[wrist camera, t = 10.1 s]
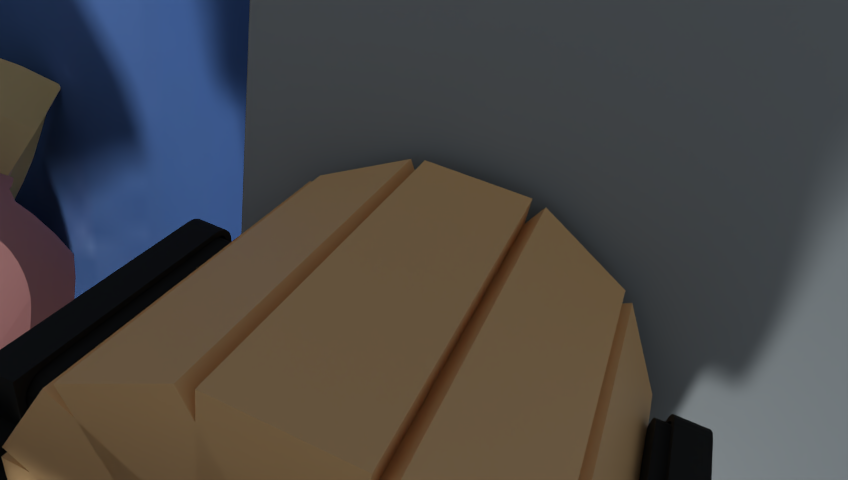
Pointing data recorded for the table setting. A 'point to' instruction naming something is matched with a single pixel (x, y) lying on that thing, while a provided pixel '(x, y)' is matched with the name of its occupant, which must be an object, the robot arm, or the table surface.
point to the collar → (363, 351)
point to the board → (615, 172)
